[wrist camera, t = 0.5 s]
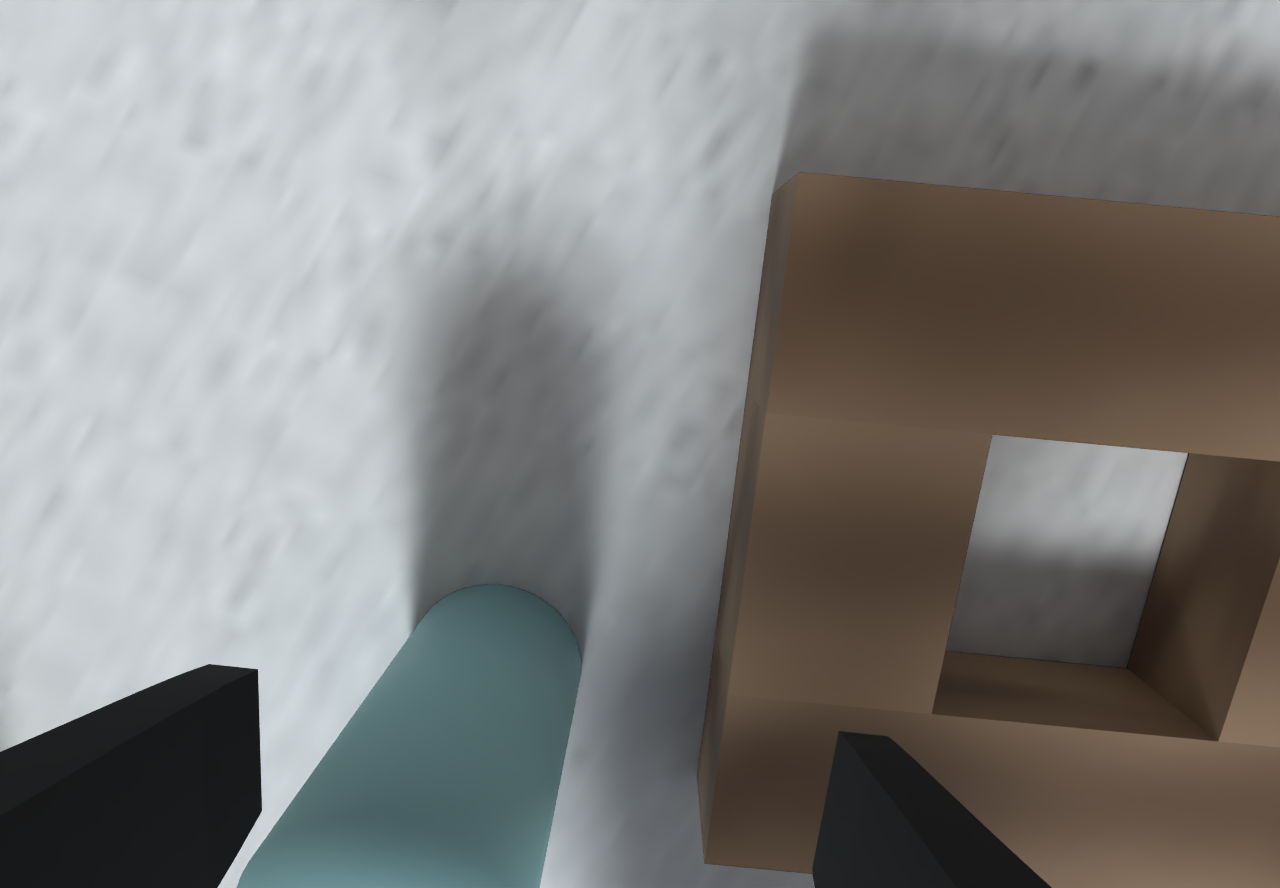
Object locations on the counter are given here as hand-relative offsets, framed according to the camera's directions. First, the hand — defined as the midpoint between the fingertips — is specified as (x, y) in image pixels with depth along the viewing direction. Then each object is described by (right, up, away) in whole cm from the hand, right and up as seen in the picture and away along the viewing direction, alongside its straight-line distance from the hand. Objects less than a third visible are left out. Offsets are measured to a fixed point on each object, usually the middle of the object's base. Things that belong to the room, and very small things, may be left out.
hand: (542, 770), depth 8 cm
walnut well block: (+12, +1, +9) cm, 15 cm away
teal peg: (-3, -2, +10) cm, 11 cm away
